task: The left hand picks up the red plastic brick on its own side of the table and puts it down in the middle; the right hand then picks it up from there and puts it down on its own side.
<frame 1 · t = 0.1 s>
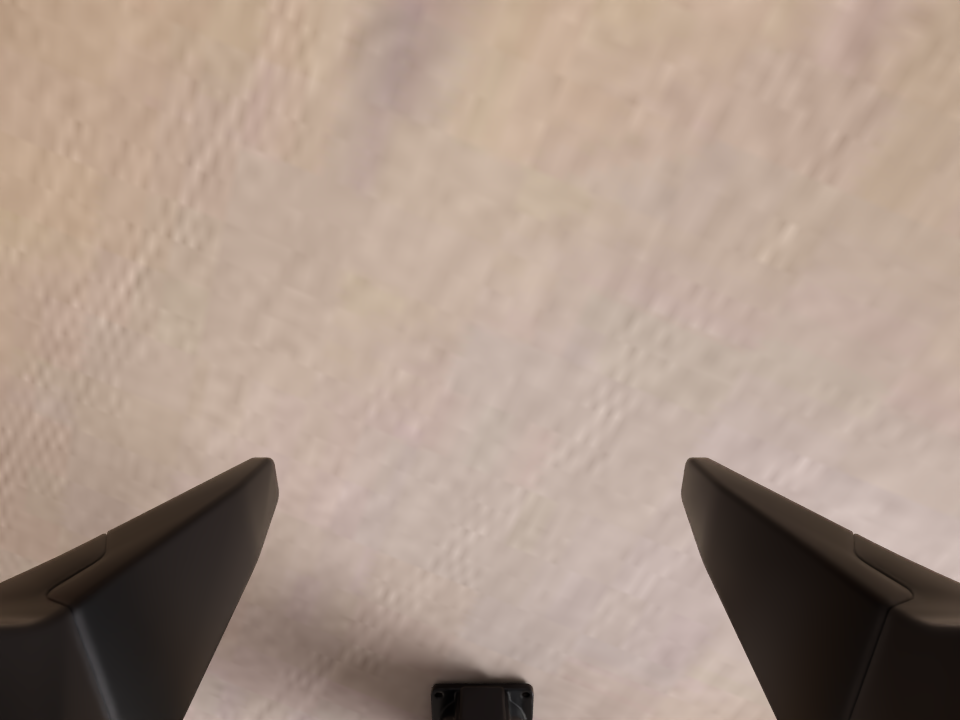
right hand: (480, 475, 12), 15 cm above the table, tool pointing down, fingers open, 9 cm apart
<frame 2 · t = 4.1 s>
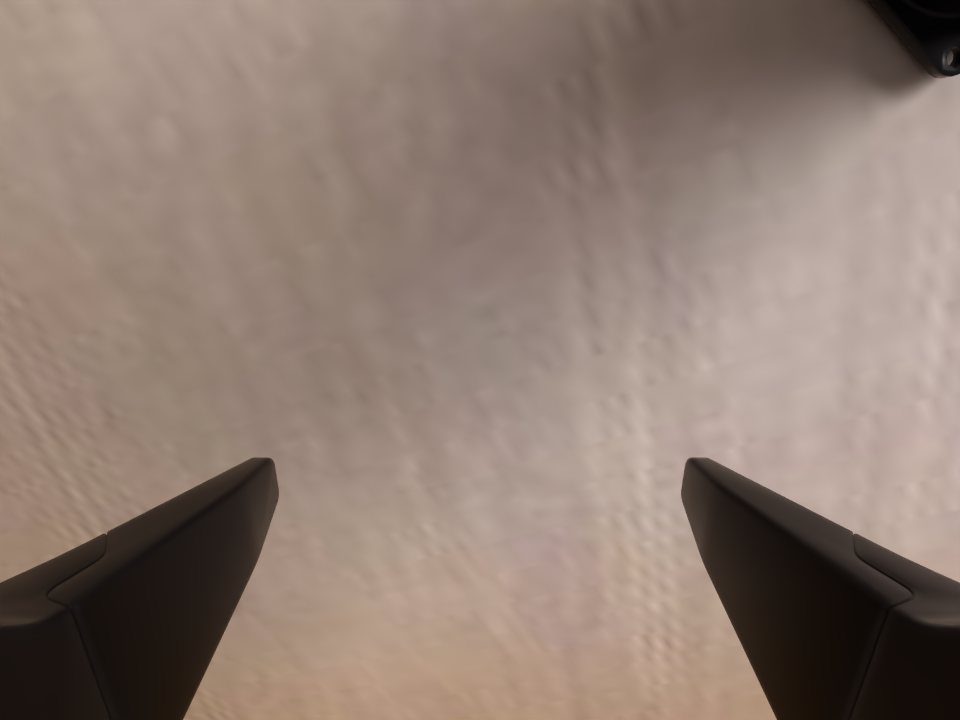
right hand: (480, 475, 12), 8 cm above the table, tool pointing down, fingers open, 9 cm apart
when the left hand's fingers open (3 cm above the table, at t = 8.4 s): brick drops 1 cm, on the table.
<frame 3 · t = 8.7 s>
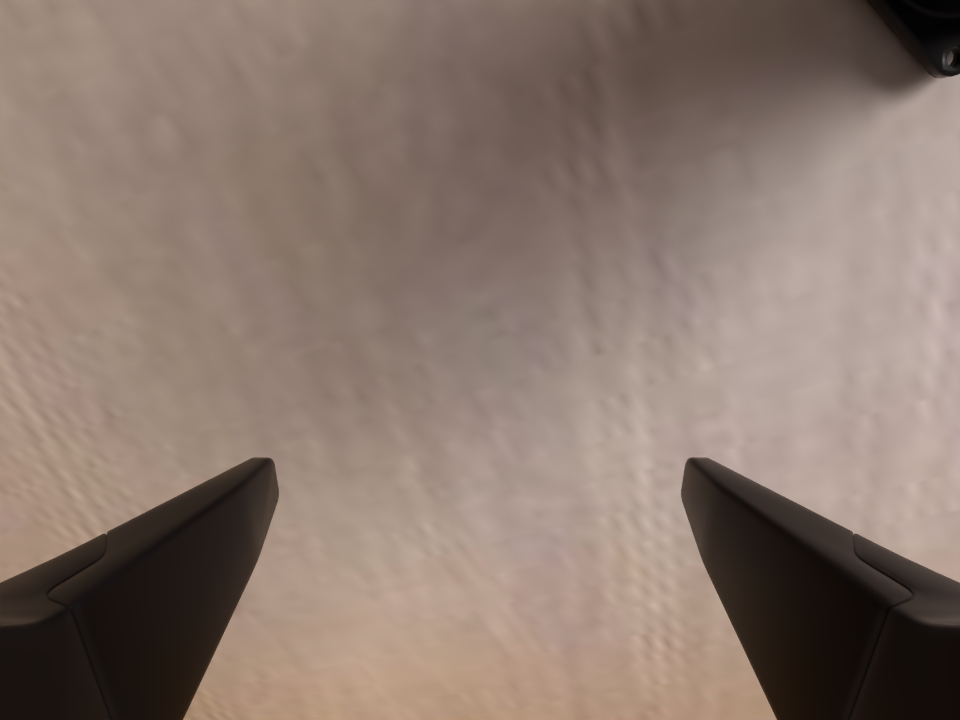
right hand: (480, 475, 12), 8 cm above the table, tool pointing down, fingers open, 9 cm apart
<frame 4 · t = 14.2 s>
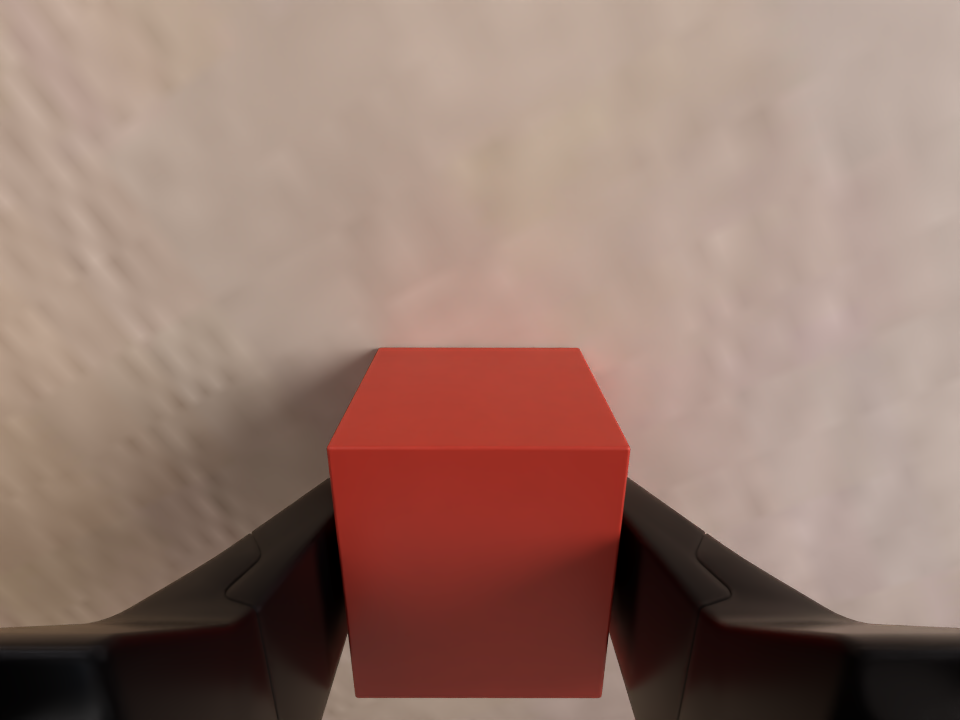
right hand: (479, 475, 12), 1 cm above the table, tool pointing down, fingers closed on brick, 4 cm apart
brick: (478, 449, 13), on the table, touching right hand
when the right hand's fingers open (2 cm above the table, at t = 17.3 s): brick drops 1 cm, on the table.
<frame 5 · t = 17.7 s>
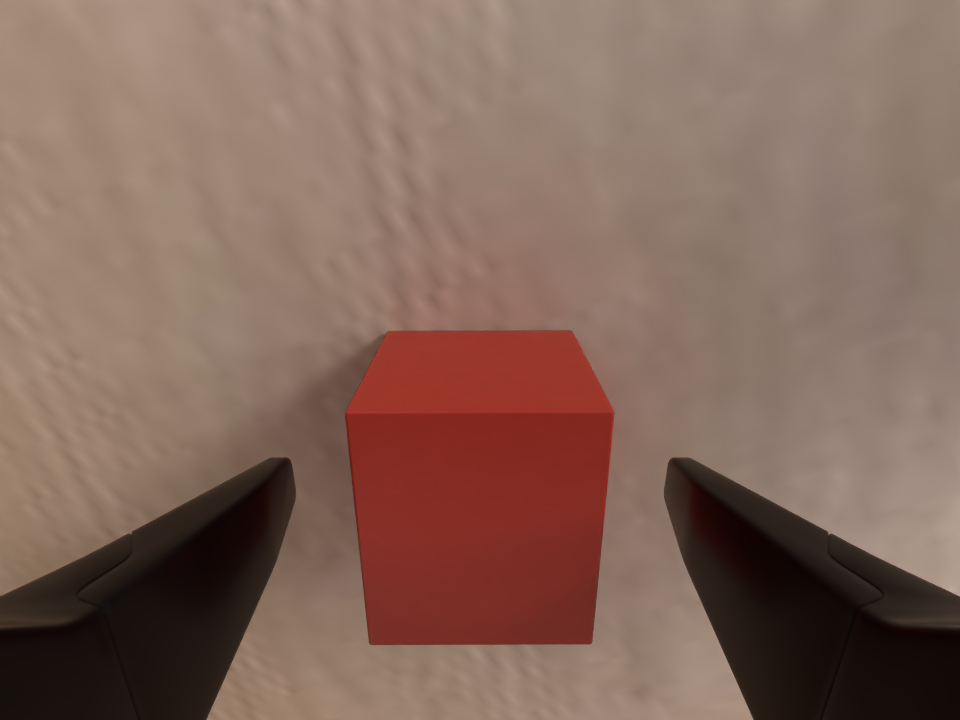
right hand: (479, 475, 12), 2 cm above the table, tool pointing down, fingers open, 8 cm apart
brick: (480, 426, 14), on the table
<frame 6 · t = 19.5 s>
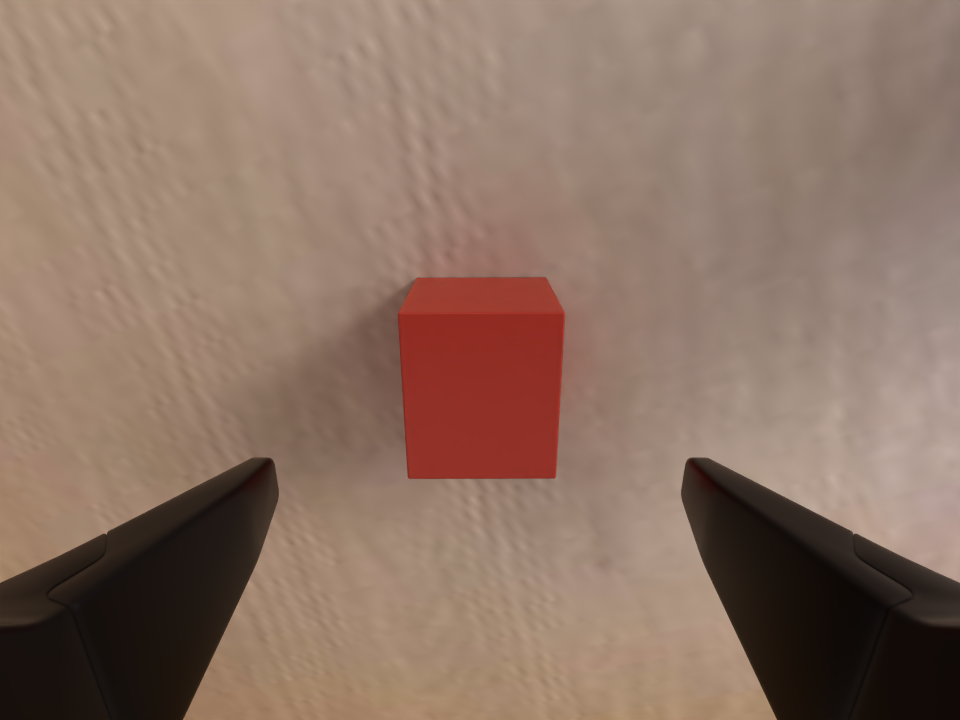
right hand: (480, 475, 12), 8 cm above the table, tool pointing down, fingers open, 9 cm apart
brick: (481, 348, 19), on the table
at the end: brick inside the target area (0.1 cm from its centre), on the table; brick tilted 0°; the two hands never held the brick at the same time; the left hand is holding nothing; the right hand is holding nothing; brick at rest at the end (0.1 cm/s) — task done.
